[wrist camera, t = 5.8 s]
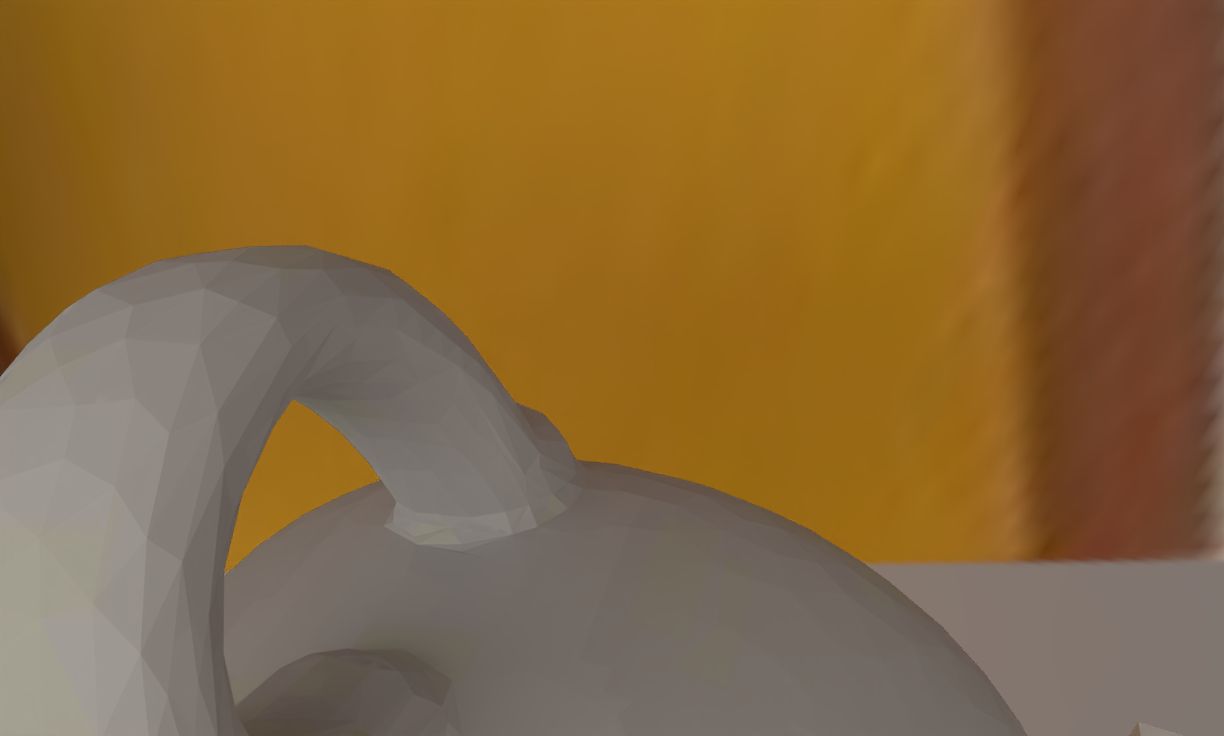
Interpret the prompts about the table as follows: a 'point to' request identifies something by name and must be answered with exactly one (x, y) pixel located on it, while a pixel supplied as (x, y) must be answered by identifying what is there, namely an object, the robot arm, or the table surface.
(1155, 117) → the table surface
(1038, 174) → the table surface
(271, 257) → the teacup
